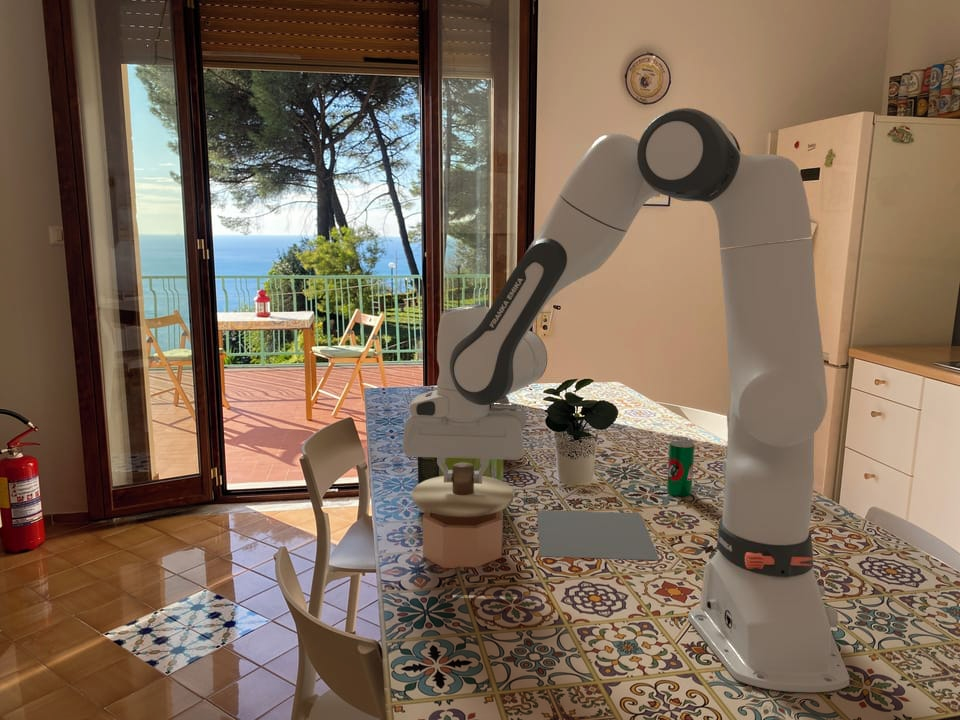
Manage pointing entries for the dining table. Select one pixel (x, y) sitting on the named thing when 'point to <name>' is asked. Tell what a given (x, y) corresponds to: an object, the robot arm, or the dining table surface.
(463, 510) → the lid
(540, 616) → the dining table surface
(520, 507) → the dining table surface
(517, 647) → the dining table surface
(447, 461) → the tea box
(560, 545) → the mat
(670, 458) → the soda can
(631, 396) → the dining table surface
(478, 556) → the pot
